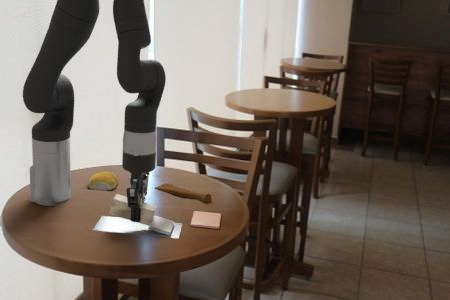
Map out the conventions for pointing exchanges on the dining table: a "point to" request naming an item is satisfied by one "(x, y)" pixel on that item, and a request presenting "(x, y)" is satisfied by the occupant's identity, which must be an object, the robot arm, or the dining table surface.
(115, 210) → the beige stepped block
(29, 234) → the dining table surface
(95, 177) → the bread roll
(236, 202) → the dining table surface
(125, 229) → the plate
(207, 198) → the primitive tool
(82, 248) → the dining table surface
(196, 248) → the dining table surface
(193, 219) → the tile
